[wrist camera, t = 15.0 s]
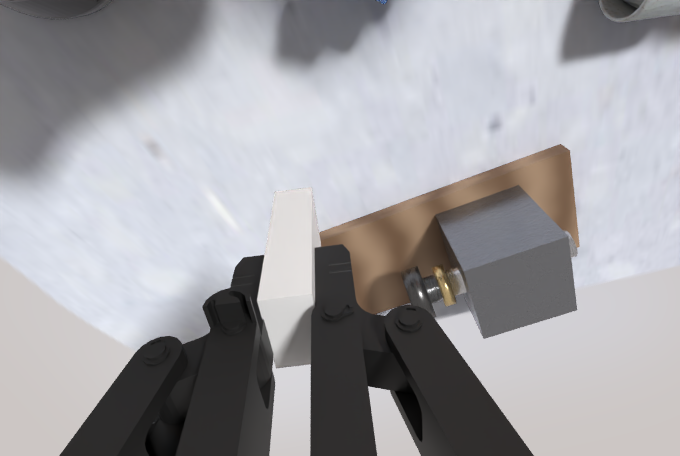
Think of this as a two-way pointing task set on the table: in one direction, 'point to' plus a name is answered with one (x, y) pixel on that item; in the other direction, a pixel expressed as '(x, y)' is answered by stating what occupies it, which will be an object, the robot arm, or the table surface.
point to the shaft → (442, 284)
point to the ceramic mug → (638, 9)
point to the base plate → (423, 231)
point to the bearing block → (509, 260)
